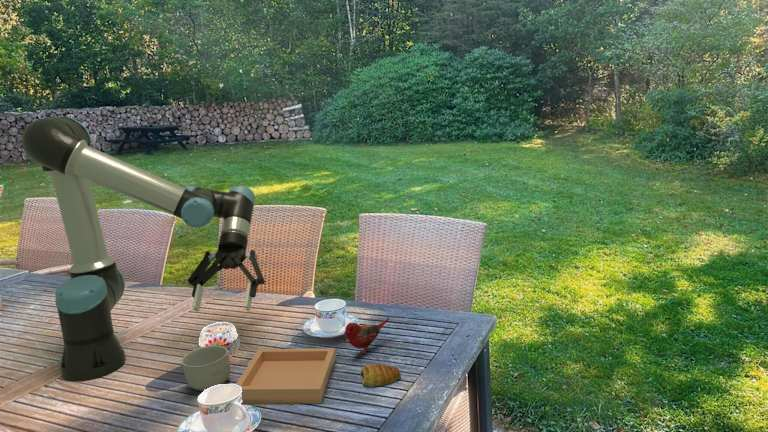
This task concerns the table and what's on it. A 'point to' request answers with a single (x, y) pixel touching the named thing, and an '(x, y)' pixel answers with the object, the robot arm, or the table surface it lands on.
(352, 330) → the decorative bird figurine
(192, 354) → the teacup
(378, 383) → the pastry
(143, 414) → the table surface
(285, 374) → the shallow wooden tray
